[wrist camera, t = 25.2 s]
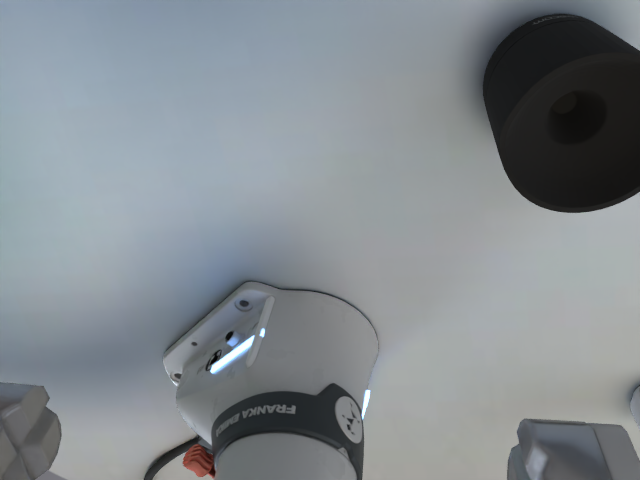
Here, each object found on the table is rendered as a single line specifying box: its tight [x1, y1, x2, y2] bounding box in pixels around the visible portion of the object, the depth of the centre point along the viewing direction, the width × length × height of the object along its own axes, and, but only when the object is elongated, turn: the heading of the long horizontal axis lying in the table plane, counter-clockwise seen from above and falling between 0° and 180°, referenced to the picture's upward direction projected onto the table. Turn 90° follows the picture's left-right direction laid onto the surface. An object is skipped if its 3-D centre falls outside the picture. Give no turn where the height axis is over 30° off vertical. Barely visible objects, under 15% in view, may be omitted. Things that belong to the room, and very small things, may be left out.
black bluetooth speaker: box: [483, 14, 640, 213], centre depth 34 cm, size 9×9×10 cm
